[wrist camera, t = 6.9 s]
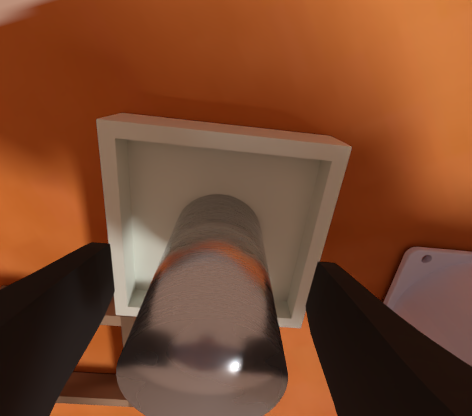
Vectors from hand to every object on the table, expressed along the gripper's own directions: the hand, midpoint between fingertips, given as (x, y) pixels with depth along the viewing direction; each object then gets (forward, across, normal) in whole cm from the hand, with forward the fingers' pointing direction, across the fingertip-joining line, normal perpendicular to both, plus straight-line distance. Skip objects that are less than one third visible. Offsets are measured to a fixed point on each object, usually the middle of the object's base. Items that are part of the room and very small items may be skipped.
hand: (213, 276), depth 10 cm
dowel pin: (+3, 0, 0) cm, 3 cm away
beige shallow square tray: (+5, 0, 0) cm, 5 cm away
